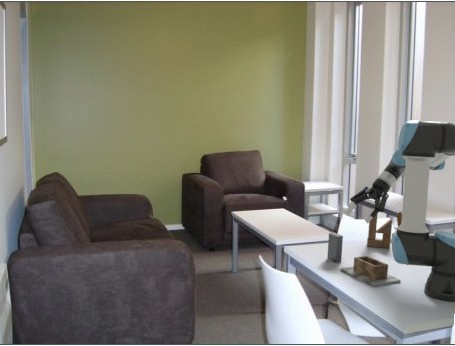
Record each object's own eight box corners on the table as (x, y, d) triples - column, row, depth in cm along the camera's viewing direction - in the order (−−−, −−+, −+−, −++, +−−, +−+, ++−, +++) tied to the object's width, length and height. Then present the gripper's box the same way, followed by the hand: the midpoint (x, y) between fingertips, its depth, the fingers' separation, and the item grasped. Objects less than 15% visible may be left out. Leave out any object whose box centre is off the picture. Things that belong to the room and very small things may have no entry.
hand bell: (402, 245, 261) (404, 214, 258) (386, 242, 266) (389, 211, 264) (409, 242, 267) (412, 212, 264) (394, 239, 272) (396, 209, 270)
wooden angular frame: (389, 248, 255) (393, 212, 252) (367, 246, 257) (370, 210, 255) (389, 246, 259) (392, 210, 256) (366, 244, 261) (369, 209, 258)
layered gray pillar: (341, 262, 232) (342, 235, 230) (335, 262, 230) (337, 236, 228) (332, 258, 237) (334, 232, 235) (327, 258, 236) (328, 233, 234)
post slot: (400, 282, 209) (401, 266, 208) (373, 286, 203) (374, 270, 202) (366, 266, 227) (367, 252, 226) (340, 270, 220) (341, 255, 219)
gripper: (407, 193, 231) (379, 229, 227) (369, 183, 253) (342, 216, 249) (400, 182, 228) (370, 219, 223) (361, 173, 249) (334, 206, 245)
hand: (355, 217), depth 236 cm, fingers open, 13 cm apart
